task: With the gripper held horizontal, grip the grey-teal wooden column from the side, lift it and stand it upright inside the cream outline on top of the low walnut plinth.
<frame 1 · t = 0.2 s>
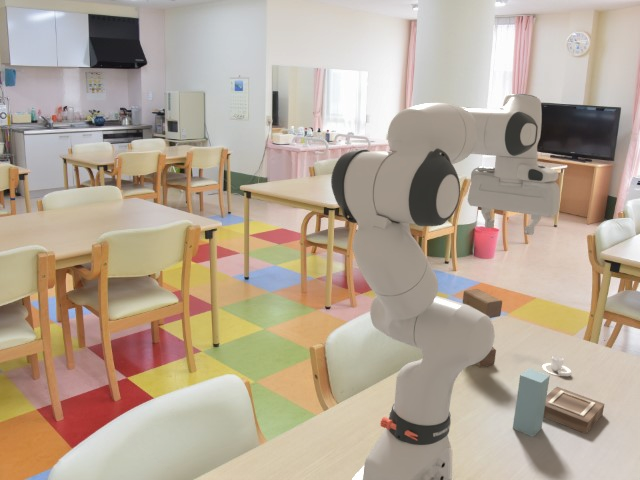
hand: (508, 230, 135), 47 cm above the table, tool pointing down, fingers open, 8 cm apart
column: (527, 428, 143), on the table
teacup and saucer: (551, 375, 171), on the table
plinth: (569, 414, 150), on the table
decorative block: (475, 358, 178), on the table
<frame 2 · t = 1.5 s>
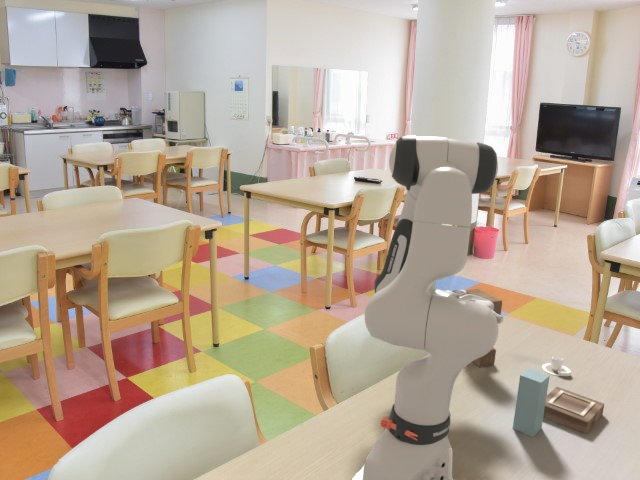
hand: (492, 325, 144), 23 cm above the table, tool horizontal, fingers open, 8 cm apart
nothing on the table moved.
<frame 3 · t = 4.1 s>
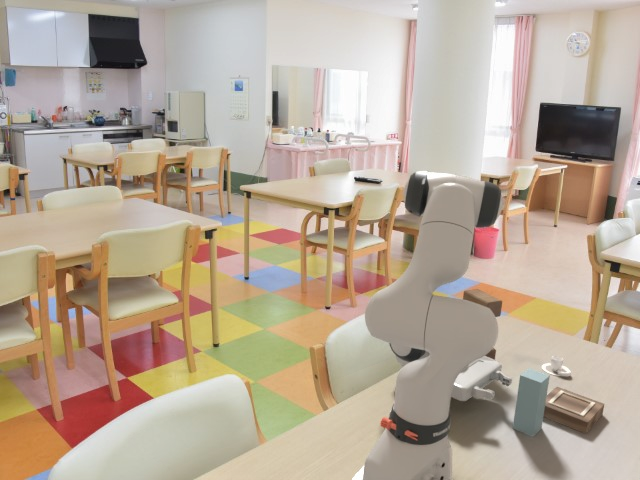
hand: (502, 389, 145), 7 cm above the table, tool horizontal, fingers open, 8 cm apart
nothing on the table moved.
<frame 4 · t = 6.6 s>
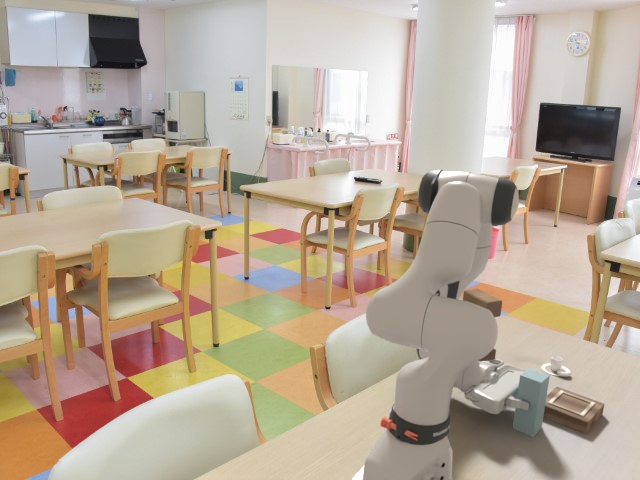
hand: (535, 401, 140), 8 cm above the table, tool horizontal, fingers closed on column, 5 cm apart
column: (527, 428, 143), on the table, touching gripper
everything else where it was.
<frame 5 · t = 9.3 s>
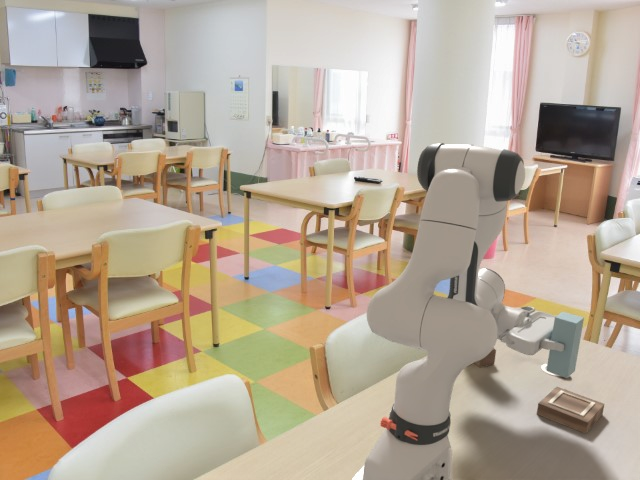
hand: (569, 343, 141), 20 cm above the table, tool horizontal, fingers closed on column, 5 cm apart
column: (560, 370, 144), point 13 cm above the table, touching gripper
everything else where it was.
when the fingers open (12 cm above the table, at t = 12.1 s): column drops 1 cm, resting on plinth.
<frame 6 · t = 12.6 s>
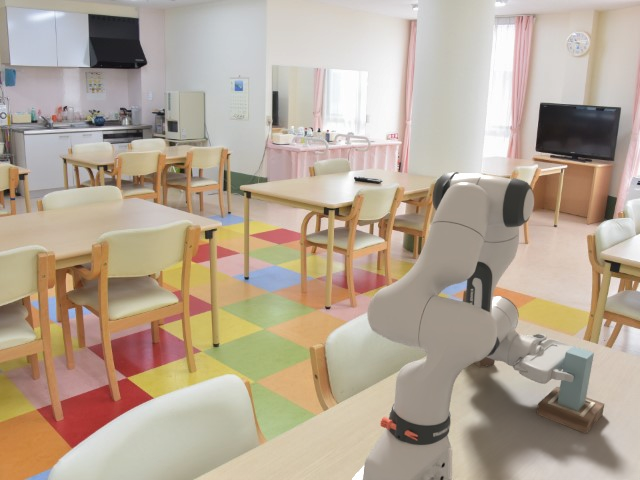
hand: (580, 372, 146), 12 cm above the table, tool horizontal, fingers open, 8 cm apart
column: (571, 403, 149), point 3 cm above the table, touching plinth
everything else where it was.
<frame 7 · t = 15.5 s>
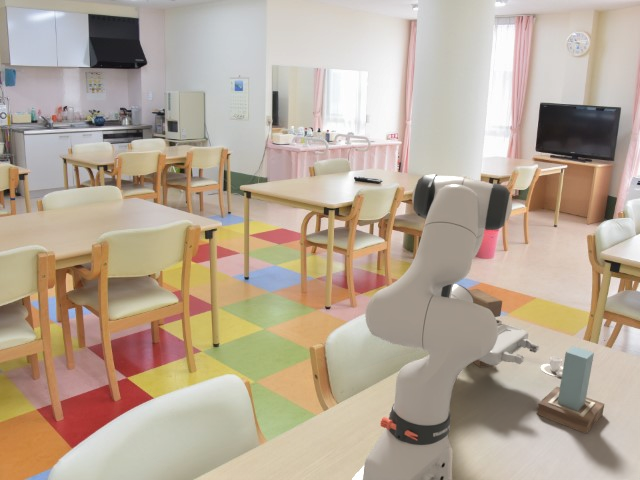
hand: (530, 354, 154), 12 cm above the table, tool horizontal, fingers open, 8 cm apart
nothing on the table moved.
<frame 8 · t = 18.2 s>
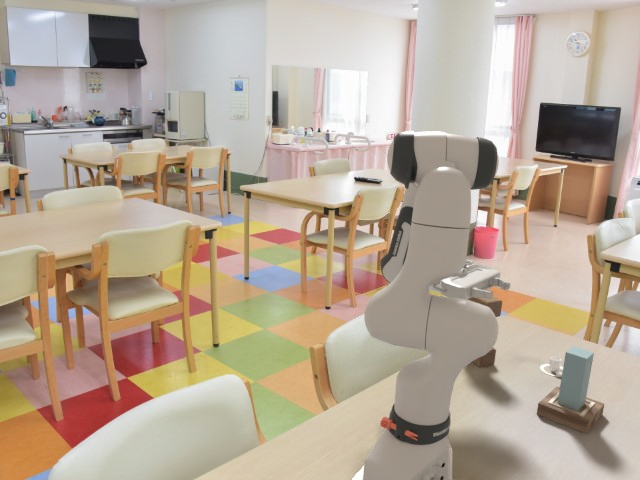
hand: (500, 291, 147), 30 cm above the table, tool horizontal, fingers open, 8 cm apart
nothing on the table moved.
at the end: column 0.1 cm off-centre on the plinth, point 3.0 cm above the plinth's base; column tilted 0°; the gripper is holding nothing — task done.
